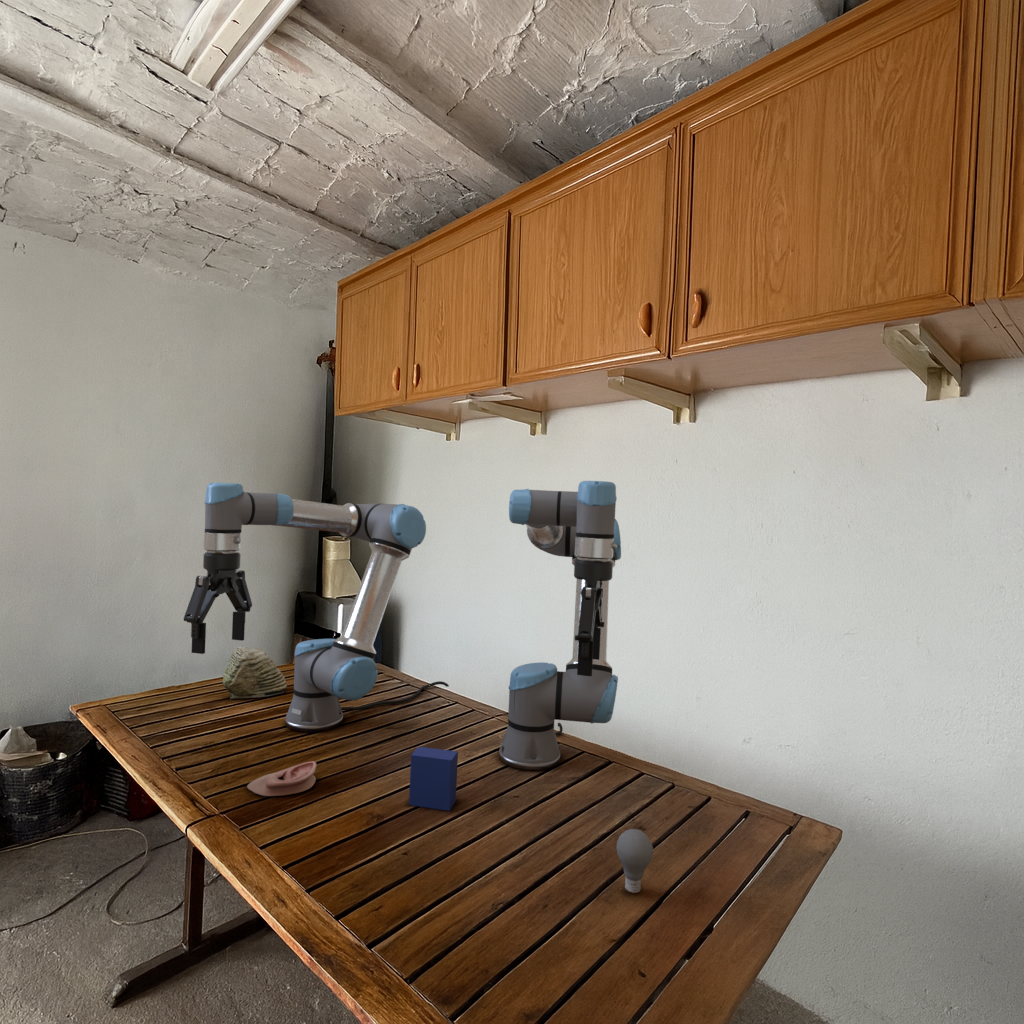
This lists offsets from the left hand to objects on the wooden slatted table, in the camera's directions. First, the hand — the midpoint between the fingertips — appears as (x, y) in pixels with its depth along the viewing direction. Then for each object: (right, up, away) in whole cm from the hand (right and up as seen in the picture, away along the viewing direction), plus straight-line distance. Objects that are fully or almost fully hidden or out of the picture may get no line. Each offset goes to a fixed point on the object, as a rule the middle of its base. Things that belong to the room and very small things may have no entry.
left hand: (219, 646), depth 142 cm
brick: (+49, -31, -9) cm, 59 cm away
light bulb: (+86, -33, -36) cm, 99 cm away
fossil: (-15, -27, +56) cm, 64 cm away
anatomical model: (+16, -30, -4) cm, 34 cm away
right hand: (+81, -1, -17) cm, 83 cm away
